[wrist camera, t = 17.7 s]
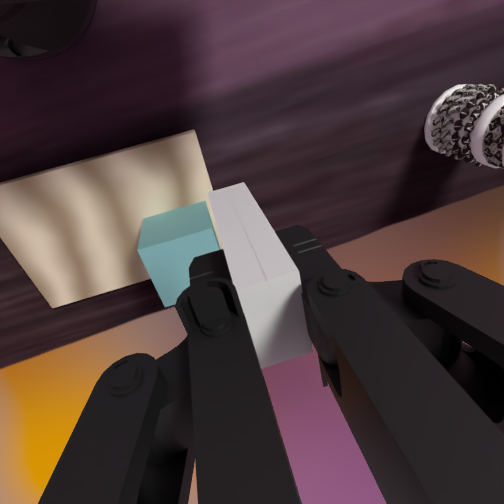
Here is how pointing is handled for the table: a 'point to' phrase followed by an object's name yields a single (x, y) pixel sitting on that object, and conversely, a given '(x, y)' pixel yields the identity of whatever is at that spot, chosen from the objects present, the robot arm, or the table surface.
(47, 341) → the table surface
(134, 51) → the table surface
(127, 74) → the table surface
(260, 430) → the robot arm
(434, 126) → the decorative candle
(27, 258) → the base board
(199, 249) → the teal cube
